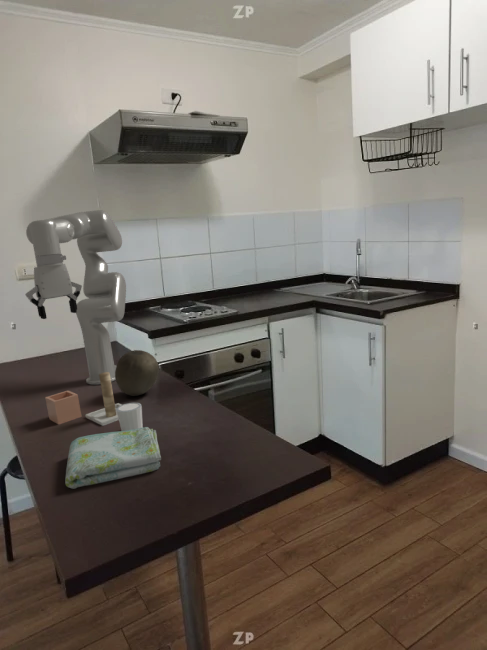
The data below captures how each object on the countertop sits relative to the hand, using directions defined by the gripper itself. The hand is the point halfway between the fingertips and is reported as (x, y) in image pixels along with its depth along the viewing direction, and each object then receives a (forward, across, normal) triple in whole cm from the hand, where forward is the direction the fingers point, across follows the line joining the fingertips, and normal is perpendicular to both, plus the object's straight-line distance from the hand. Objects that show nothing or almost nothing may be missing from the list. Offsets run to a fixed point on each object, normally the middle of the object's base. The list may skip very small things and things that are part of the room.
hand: (59, 315), depth 151 cm
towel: (+31, +11, +48) cm, 59 cm away
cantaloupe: (+31, -19, +9) cm, 37 cm away
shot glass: (+31, -1, +35) cm, 46 cm away
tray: (+30, -2, +20) cm, 36 cm away
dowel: (+30, -2, +20) cm, 36 cm away
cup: (+30, +7, +9) cm, 32 cm away
